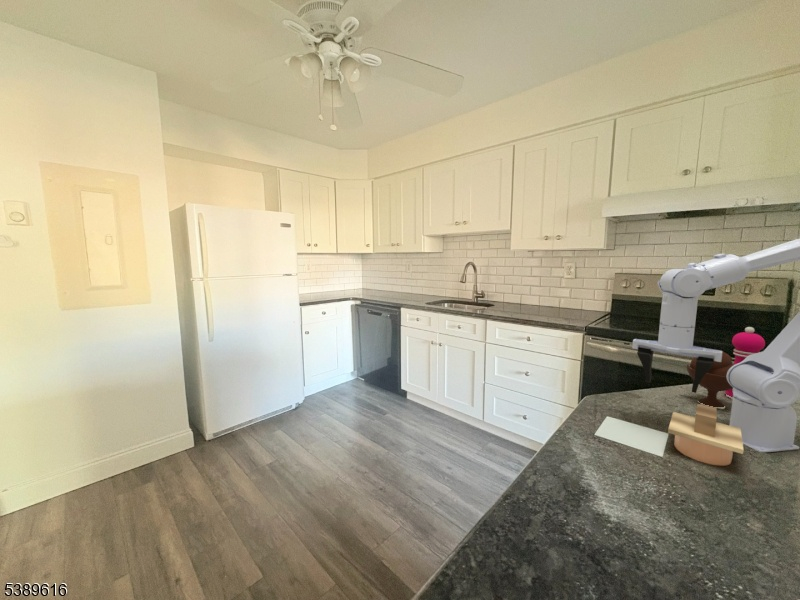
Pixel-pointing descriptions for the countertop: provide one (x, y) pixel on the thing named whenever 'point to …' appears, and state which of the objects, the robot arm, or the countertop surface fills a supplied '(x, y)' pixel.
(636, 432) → the mat
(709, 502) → the countertop surface
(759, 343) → the pepper mill
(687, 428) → the lid
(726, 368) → the ice cream bowl
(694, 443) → the bowl
